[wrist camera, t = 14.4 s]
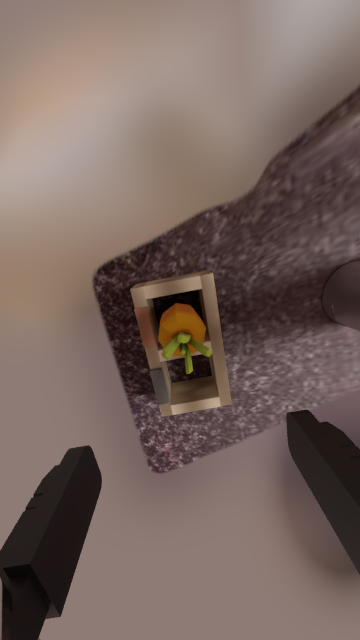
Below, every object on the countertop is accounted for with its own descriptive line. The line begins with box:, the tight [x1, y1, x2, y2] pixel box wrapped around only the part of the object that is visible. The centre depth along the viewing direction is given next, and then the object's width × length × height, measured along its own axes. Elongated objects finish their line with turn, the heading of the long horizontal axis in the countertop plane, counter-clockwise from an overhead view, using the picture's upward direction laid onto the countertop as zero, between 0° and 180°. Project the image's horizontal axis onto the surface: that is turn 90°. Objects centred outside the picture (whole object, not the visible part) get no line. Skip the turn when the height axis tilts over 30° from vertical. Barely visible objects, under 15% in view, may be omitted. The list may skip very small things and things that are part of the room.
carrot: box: [158, 303, 212, 374], centre depth 25 cm, size 5×5×15 cm
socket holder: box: [130, 270, 231, 417], centre depth 30 cm, size 10×18×6 cm, turn 11°
